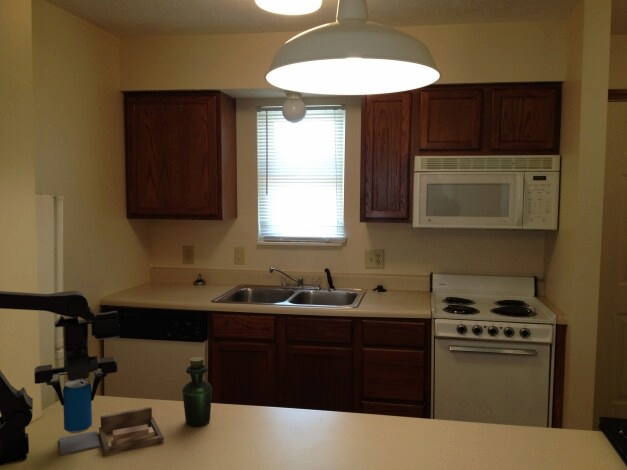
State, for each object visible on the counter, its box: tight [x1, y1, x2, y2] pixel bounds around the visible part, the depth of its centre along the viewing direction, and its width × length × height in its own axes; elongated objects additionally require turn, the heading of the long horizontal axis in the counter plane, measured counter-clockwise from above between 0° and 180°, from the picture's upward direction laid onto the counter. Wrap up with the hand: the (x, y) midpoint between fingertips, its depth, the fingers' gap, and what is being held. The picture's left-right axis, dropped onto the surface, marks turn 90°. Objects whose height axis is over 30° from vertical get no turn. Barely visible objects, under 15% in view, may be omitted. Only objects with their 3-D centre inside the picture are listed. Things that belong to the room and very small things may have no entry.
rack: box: [98, 406, 165, 456], centre depth 135 cm, size 14×14×4 cm
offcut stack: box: [110, 425, 156, 446], centre depth 132 cm, size 10×4×4 cm, turn 118°
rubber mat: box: [58, 430, 102, 456], centre depth 132 cm, size 9×9×1 cm
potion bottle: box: [181, 356, 213, 428], centre depth 144 cm, size 8×8×18 cm
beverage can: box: [62, 378, 93, 434], centre depth 131 cm, size 6×6×12 cm
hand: (77, 402), depth 131 cm, fingers closed on beverage can, 6 cm apart
